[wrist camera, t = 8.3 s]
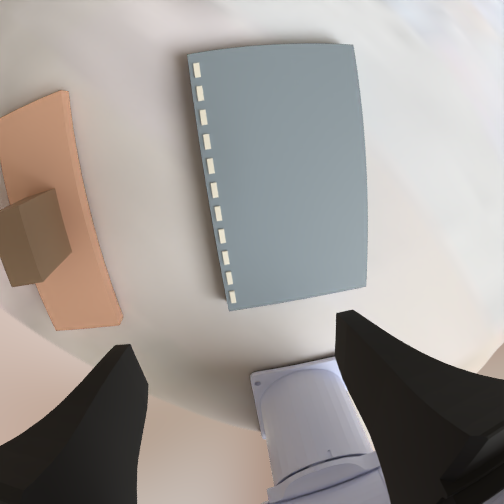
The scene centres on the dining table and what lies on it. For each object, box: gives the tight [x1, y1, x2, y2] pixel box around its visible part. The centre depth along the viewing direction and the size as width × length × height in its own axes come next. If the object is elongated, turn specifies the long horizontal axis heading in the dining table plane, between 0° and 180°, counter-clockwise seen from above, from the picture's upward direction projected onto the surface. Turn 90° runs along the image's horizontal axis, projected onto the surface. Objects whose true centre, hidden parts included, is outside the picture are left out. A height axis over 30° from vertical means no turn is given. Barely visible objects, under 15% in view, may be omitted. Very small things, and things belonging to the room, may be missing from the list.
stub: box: [0, 90, 123, 331], centre depth 14 cm, size 15×5×5 cm, turn 7°
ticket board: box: [187, 43, 368, 311], centre depth 17 cm, size 15×9×1 cm, turn 7°
